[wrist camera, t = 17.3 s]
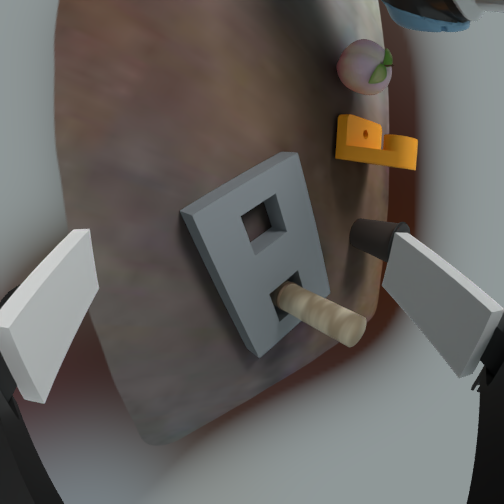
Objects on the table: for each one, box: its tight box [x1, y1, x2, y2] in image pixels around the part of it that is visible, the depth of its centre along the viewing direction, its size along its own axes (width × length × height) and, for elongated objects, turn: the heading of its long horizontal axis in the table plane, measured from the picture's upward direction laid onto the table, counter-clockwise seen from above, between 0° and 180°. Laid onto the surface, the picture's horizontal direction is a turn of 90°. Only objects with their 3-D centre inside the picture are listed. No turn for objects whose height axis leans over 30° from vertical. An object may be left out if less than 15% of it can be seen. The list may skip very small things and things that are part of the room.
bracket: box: [335, 114, 418, 170], centre depth 45 cm, size 11×7×12 cm, turn 85°
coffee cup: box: [350, 219, 410, 263], centre depth 53 cm, size 8×8×10 cm
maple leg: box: [269, 280, 366, 347], centre depth 41 cm, size 4×4×15 cm
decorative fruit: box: [337, 39, 394, 95], centre depth 40 cm, size 9×8×10 cm
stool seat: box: [180, 152, 330, 358], centre depth 43 cm, size 24×16×3 cm, turn 22°
